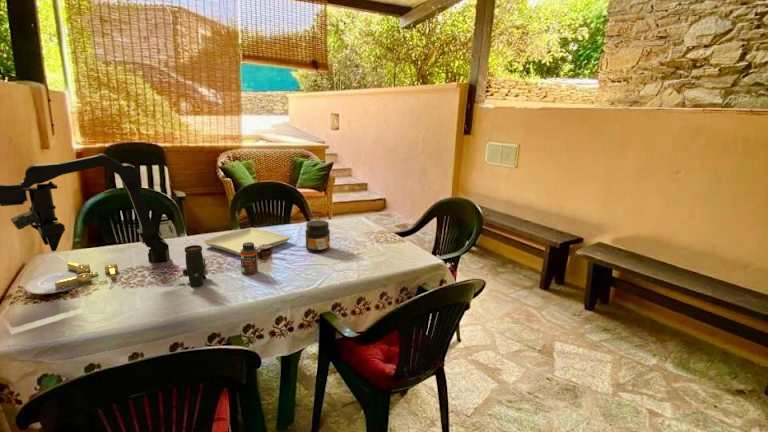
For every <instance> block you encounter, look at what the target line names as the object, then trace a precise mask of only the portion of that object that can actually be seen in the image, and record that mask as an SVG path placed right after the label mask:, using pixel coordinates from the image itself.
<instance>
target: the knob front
mask: <svg viewBox="0 0 768 432" xmlns="http://www.w3.org/2000/svg"><path fill="white" fill-rule="evenodd" d="M66 264H67V269H68V270H71V271H73V272H76V274H77V275H78V274H82V273H90V272H92V271H91V266H90V264H86V263H85V264H79V263H77V262H76V263H75V262H73V261H71V262H67V263H66Z"/></svg>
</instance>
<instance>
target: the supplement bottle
mask: <svg viewBox="0 0 768 432" xmlns="http://www.w3.org/2000/svg"><path fill="white" fill-rule="evenodd" d="M240 254H241V255H240V269H241V270H240V271H241V273H242V274H243V275H245V276H250V275H255V274H257V273H258V272H259V267H258V266H259V263H258V253H257V250H256V249H255V248H254V243H252V242H247V243H244V244H243V249H242V250H241V252H240Z"/></svg>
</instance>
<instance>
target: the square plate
mask: <svg viewBox="0 0 768 432" xmlns="http://www.w3.org/2000/svg"><path fill="white" fill-rule="evenodd" d="M291 238H292V237H291V236H289V235H284V234H281V233H278V232H274V231H269V230H265V229H261V228H255V227H248V228H247V227H246V228H244V229H239V230H235V231H232V232H228V233H224V234H220V235H218V236H217V235H216V236H215V237H212V238H209V239H205V240H202V243H204V244H205V245H206V246H209V247H212V248H215V249H219V250H222V251H225V252H229V253H232V254H235V255H237V256H241V254H240V252H241V250H242V249H243V244H244V243H247V242H252V243H254V246H259V245H262V244H266V245H264V246H267V245H271V246H272V248H274V247H275V248H276V247H277V246H279V245H281V244H284V243H287V242H288V241H289V240H290V239H291ZM264 246H261V247H264ZM261 247H258V248H256V250H257V251H258V250H259V249H260V248H261Z"/></svg>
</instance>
